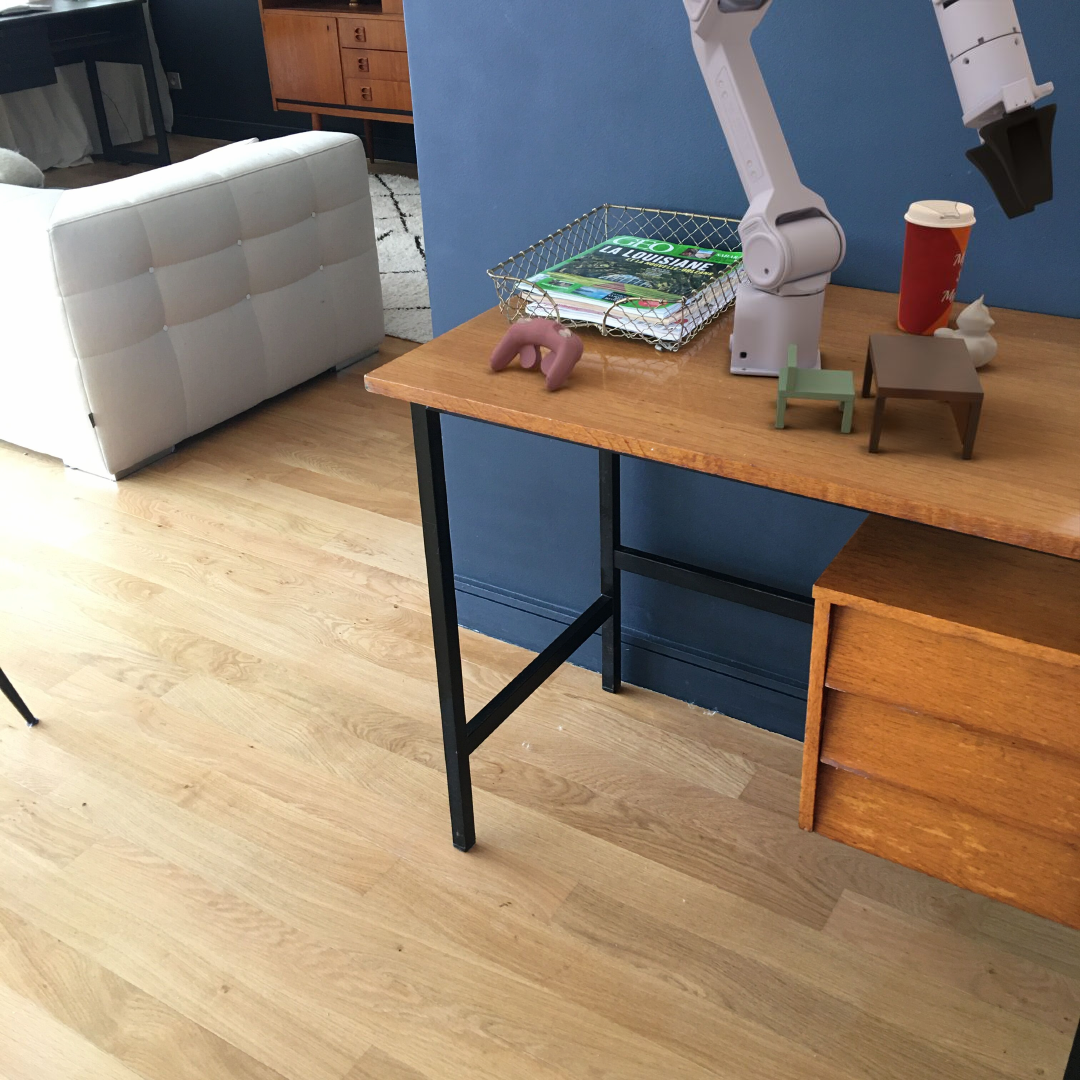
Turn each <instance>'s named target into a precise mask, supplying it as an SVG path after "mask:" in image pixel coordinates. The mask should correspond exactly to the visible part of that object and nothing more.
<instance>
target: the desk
mask: <svg viewBox="0 0 1080 1080" xmlns="http://www.w3.org/2000/svg"><path fill="white" fill-rule="evenodd" d="M868 337H869V338H868V344H867V349H866V357H865V364H864V371H863V377H862V378H863V379H862V386H861V392H860V397H861V398H870V396H871V389H872V384H873V383H872V382H874V387H875V393H876V394H875V401H874V408H873V413H872V420H871V427H870V433H869V440H868V446H867V450H868V453H872V454H878V452H879V445H880V439H881V432H882V426H883V420H884V414H885V406H886V400H887V398H891V399H907V400H923V401H937V402H939V401H940V402H946V403H949V407H950V410H951V414H952V417H953V421H954V424H955V426H956V427H955V428H956V430H957V433H958V437H959V440H960V443H961V446H962V448H961V453H960V456H961V459H962V460H972V458H973V453H974V448H975V443H976V437H977V433H978V427H979V424H980V423H979V422H980V418H981V413H982V408H983V402H984V398H985V391H984V388H983V386H982V383H981V381H980V378H979V375H978V373H977V370H976V368H975V367H974V364H973V362H972V359H971V356H970V354H969V351H968V348H967V346H966V343H965V340H964V339H961V338H941V337H934V336H923V335H922V336H919V335H899V334H881V333H880V334H879V333H869V335H868ZM873 380H874V381H873Z"/></svg>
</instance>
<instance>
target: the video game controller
mask: <svg viewBox="0 0 1080 1080" xmlns="http://www.w3.org/2000/svg"><path fill="white" fill-rule="evenodd" d="M541 347H543V348H545V349H548V350H549V352H548V353H547V354H545V355H544V357H543V355H542V351H541ZM583 353H584V341H583V340H582V339H581V337H580V336H579V335H577V334H575V333H574V332H573V331H572V330H571V329H570V328H568V326H566V325H564V324H563V323H561V322H558V321H556V320H553V319H548V318H544V317H534V318H533V317H527V318H523V317H519V318H518V319H517V321H516V322H513V323H512V324H511V325H510V326H509V328H508V329H507V330H506V332H505V334H504V335H503V337H502V339H500V341H499V343H497V345H496V347H495V348H494V349H493V351H492V353H491V355H490V358H489V366H490V369H491V370H492V371H494V372H498V371H501V370H503V369H505V368H506V367H507V366H508V365H509V364H510V363H512V361H513V360H514V359H515V358H516V357H517V356H519V363H520V365H521V366H522V367H523V368H524V369H528V370H537V369H538V368H539V367H540V370H541V372H542V373H543V374H544V375H546V376H545V377H546V378H545V386H546V388H547V389H548V390H550V391H554V390H557V389H559V388H560V387H561V386H563V384H565V382H566V381H568V379H569V377H570V375H571V374H572V373H573V370H574V368H575V366H576V364H577V363H578V362H579V361H580V360H581V358H582V356H583Z"/></svg>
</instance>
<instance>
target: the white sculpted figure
mask: <svg viewBox="0 0 1080 1080" xmlns="http://www.w3.org/2000/svg"><path fill="white" fill-rule="evenodd" d="M984 296H985V294H984V293H983V294H982V295H981V296H980V298H979V299H976V300H975V301H974V302H972V303H971V304H969V305H967V307H965V308H964V309H963V310H962V311H961V312H960V314H959V315H958V317H957V319H956V325H957V327H958V329H955V330H954V329H952V328H949V327H947V328H939V329H937V330H936V331H935V332H934V335H933V337H941V338H961V339H964V340H965V343H966V346H967V348H968V351H969V354H970V356H971V359H972V362H973V364H974V367H975V369H976V368H980V367H982V366H984V365H986V364H988V363H989V362H990V361H991V360H993V359H994V357H995V356H996V354H997V351H998V343H997V341H996V340H995V338H993V336H992V335H991V333H989V331H990V330H991V328H992V326H993V325H995V320H994V319H993V318H992V317H991V316H990V312H989V308H988V307H987V306H986V305H985V304H983V303H984V298H985V297H984Z"/></svg>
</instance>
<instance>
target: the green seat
mask: <svg viewBox="0 0 1080 1080" xmlns="http://www.w3.org/2000/svg"><path fill="white" fill-rule="evenodd" d="M776 393H777V394H776V401H775V402H776V403H775V406H776V416H775V426H774V427H775V429H781V430H783V429H784V428H785V420H786V411H787V400H788V399H795V400H796V399H797V400H813V401H831V402H839V407H838V410H839V412H842V419H841V428H840V430H841V431H840V432H841V433H842V434H851V429H852V421H853V414H854V407H855V399H856V390H855V381H854V372H853V371H852V370H837V369H822V368H821V369H804V368H797V345H791V344H789V345H788V354H787V364H786V367H780V371H779V376H778V383H777V392H776Z"/></svg>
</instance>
